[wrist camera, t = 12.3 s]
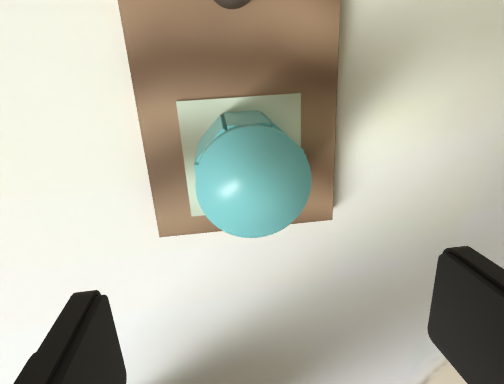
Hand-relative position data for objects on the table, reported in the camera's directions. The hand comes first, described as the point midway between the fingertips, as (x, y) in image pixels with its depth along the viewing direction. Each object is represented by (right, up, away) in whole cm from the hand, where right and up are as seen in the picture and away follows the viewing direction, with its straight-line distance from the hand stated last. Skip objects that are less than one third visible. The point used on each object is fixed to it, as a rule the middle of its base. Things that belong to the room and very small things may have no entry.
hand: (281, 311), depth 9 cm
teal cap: (-1, +6, +13) cm, 15 cm away
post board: (-2, +11, +13) cm, 17 cm away
